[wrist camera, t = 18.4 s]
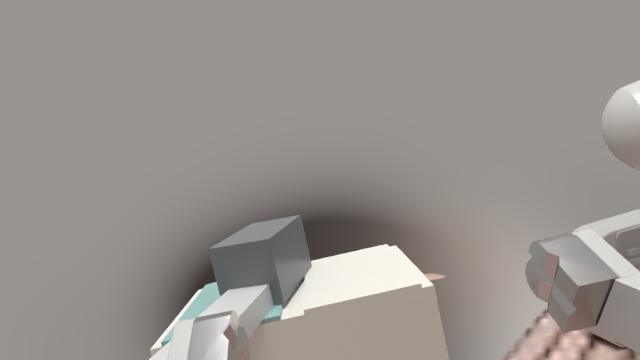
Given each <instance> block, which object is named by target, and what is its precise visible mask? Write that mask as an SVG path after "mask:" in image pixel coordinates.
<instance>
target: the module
mask: <svg viewBox="0 0 640 360" xmlns="http://www.w3.org/2000/svg"><path fill="white" fill-rule="evenodd" d="M209 253H210V257H211V261H212V265H213V269H214V274H215V278H216V281H217V286H218V290H219V294H220V298H218V299H217V300H216V301H215V302H214V303H213V304H212V305H210V306H209V307H208V308H207V309H206V310H205V311H204V312H202V313H201V314H200V315H199V316H198V317H201V316H206V315H211V314H216V313H221V312H227V311H232V310H235V311H236V313H237V315H238V317H239V324H238V325H239V326H241V327H243V328H244V330H245V332H246V335H247V338H249V337H250V336H251V335H252V333H253V332H254V331H255V329H256V328H257V327H258V326H259V324H260V323H261V322H262V320H263V319H264V318H265V317H266V315H267V314H268V313H269V311H270V310H271V309H272V307H273V306H275V305H283V304H285V303H286V301H287V300H288V299H289V297H290V296H291V294H292V293H293V292H294V290H295V289H296V288H297V286H298V285H299V283H300V282H301V281H302V279H303V278H304V276H305V275H306V274H307V272H308V271H309V269H310V268H311V267H312V264H311V260H310V256H309V251H308V247H307V242H306V238H305V233H304V229H303V225H302V221H301V216H300V215H297V216H292V217H286V218H281V219H276V220H270V221H264V222H259V223H253V224H251V225H249V226H247V227H245V228H244V229H242V230H240V231H239V232H237V233H235V234H233V235H232V236H230V237H229V238H227V239H225V240H223V241H221V242H220V243H218V244H216V245H215V246H213V247H211V248H210V249H209ZM170 343H171V341H169V342H168V343H167V344H166V345H165V346H164V347H163V348H161V349H160V350H159V351H158V352H157V353H156V354H155V355H153V356H152V357H151V358H150V359H149V360H167V357H168V353H169V348H170Z"/></svg>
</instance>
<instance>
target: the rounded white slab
mask: <svg viewBox="0 0 640 360" xmlns="http://www.w3.org/2000/svg"><path fill="white" fill-rule="evenodd" d="M587 229H590V230H593V231H595V232H596V233H597V234H598V235H599V236H600V237H602V238H603V239H604V240H605V241H606V242H607V243H608V244H609V245H611V246H612V247H613V248H614V249H615V250H616V251H617V252H618V253H620V254H621V255H622V256H623V257H624V258H625V259H626V260H627V261H629V262H630V263H631V264H632V265H633V266H634V267H635V268H636V269H637V270H639V271H640V209H638V210H634V211H631V212H628V213H625V214H621V215H618V216H615V217H611V218H607V219H604V220H601V221H597V222H594V223H590V224H587V225H584V226H580V227H579V228H578V229H576V230H574V231H573V232H578V231H582V230H587ZM596 327H597V326H594V327H589V328H585V329H586V330H587V331H589V332H590V333H592V334H594V335H596V336H598V337H600V338H602V339H605V340H607V341H609V342H611V343H613V344H615V345H617V346H619V347H621V348H624V347H626V346H625V345H623V344H622V343H620V342H618V341H617V340H615V339H614V338H612V337H610V336H609V335H607V334H605V333H604V332H602V331H601V330H599V329H597V328H596Z"/></svg>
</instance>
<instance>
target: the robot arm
mask: <svg viewBox="0 0 640 360" xmlns="http://www.w3.org/2000/svg"><path fill="white" fill-rule="evenodd" d="M602 134H603V137H604V140H605V143H606V144H607V146H608V148H609V149H610V151H611V152H612V153H613V154H614V155H615V156H616V157H617V158H618V159H620V161H622V162H623V163H625V164H626V165H628V166H630V167H632V168H635V169H637V170H640V80H639V81H637V82H634V83H632V84H629V85H627V86H625V87H622V88H620V89H618V90H617V91H616V92H615V93H614V94H613V96H612V97H611V99H610V100H609V102H608V103H607V105H606V108H605V110H604V113H603V117H602ZM529 253H530V254H531V256H532V258H531V259H530V260H529V261H528V262H527V263H526V271H525V273H526V277H527V282H528V284H529V286H530V288H531V290H532V291H533V292H534V294H535V295H536V296H537V298H539V299H541V300H543V301H545V302H547V303H548V310H547V311H548V313H549V314H550V315H551V316H552V318H553V319H554V320H555V322H556V323H557V324H558V326H559V327H560V328H561V330H562V331H563V332H569V331H574V330H579V329H584V328H589V327H594V326H597V327H596V328H597V329H599V330H601V331H602V332H604V333H605V334H607V335H609V336H610V337H612V338H614V339H615V340H617V341H618V342H620V343H622V344H623V345H625V346H626V347H628V348H630V349H631V350H633V351H635V352H636V353H638V354H639V355H640V271H639V270H637V269H636V268H635V267H634V266H633V265H632V264H631V263H630V262H629V261H627V260H626V259H625V258H624V257H623V256H622V255H621V254H620V253H618V252H617V251H616V250H615V249H614V248H613V247H612V246H611V245H609V244H608V243H607V242H606V241H605V240H604V239H603V238H602V237H600V236H599V235H598V234H597V233H596V232H595V231H593V230H590V229H587V230H582V231H578V232H573V233H570V234H563V235H559V236H555V237H551V238H547V239H543V240H538V241H534V242H532V244H531V245H530V247H529ZM238 324H239V317H238V315H237V313H236V311H235V310H232V311H227V312H221V313H216V314H211V315H206V316H201V317H196V318H192V319H187V320H183V321H178V322H177V323H176V325H175V327H174V329H173V334H172V339H171V343H170V348H169V353H168V357H167V360H250V351H249V343H248V338H247V335H246V332H245V330H244V328H243V327H241V326H239V325H238Z"/></svg>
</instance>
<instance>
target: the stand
mask: <svg viewBox="0 0 640 360" xmlns="http://www.w3.org/2000/svg"><path fill="white" fill-rule="evenodd" d="M311 264H312V267H311V268H310V269H309V271H308V272H307V274H306V275H305V276H304V278H303V279H302V281H301V282H300V283H299V285H298V286H297V288H296V289H295V290H294V292H293V293H292V294H291V296H290V297H289V299H288V300H287V301H286V303H285V304H283V305H275V306H273V307H272V309H271V310H270V311H269V313H268V314H267V315H266V317H265V318H264V319H263V320H262V322H261V323H260V324H259V326H258V327H257V328H256V329H255V331H254V332H253V333H252V335H251V336H250V337H249V338H248V343H249V351H250V360H449V357H448V352H447V347H446V343H445V338H444V333H443V328H442V323H441V318H440V313H439V308H438V303H437V299H436V294H435V289H434V285H433V284H432V283H431V282H430V281H429V280H428V279H427V278H426V277H425V275H424V274H423V273H421V271H420V270H419V269H418V268H417V267H416V266H415V265H414V264H413V263H412V262H411V261H410V260H409V259H408V258H407V257H406V256H405V255H404V253H403V252H402V251H401V250H400V249H399V248H398V247H397V246H391V247H389V246H388V245H387V244H385V245H380V246H376V247H372V248H368V249H363V250H358V251H354V252H349V253H345V254H341V255H336V256H331V257H327V258H323V259H318V260H314V261H311ZM218 298H220V294H219V290H218V286H217V282H216V283H211V284H207V285H206V286H205V287H204V288H203V289H200V290H198V292H196V294H195V295H194V296H193V298H192V299H191V300H190V301H189V303H188V304H187V305H186V306H185V307H184V309H183V310H182V311H181V312H180V313H179V315H178V316H177V317H176V318H175V320H174V321H173V322H172V323H171V325H170V326H169V327H168V328H167V329H166V331H165V332H164V333H163V335H162V336H161V337H160V338H159V340H158V341H157V342H156V343H155V344H154V345H153V347H152V348H151V349H150V351H151V355H152V356H153V355H155V354H156V353H157V352H158V351H159V350H160V349H161V348H163V347H164V346H165V345H166V344H167V343H168V342H169V341H171V339H172V334H173V329H174V327H175V325H176V323H177V322H178V321H183V320H187V319H192V318H196V317H198V316H199V315H200V314H201V313H202V312H204V311H205V310H206V309H207V308H208V307H209V306H210V305H212V304H213V303H214V302H215V301H216V300H217V299H218Z"/></svg>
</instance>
